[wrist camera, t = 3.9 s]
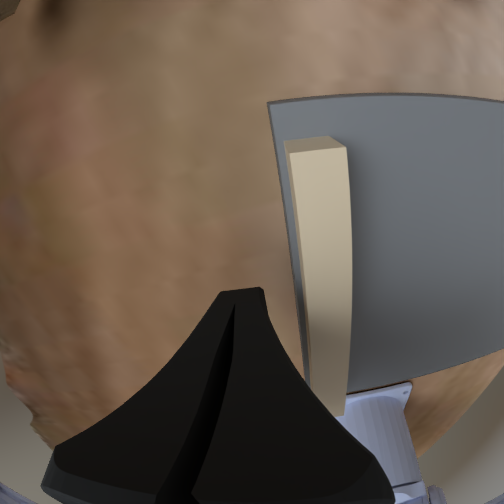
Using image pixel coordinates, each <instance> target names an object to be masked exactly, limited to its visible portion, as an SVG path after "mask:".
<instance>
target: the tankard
mask: <svg viewBox="0 0 504 504" xmlns="http://www.w3.org/2000/svg"><path fill="white" fill-rule="evenodd" d="M19 2H20V0H0V21H1V20H3V19H5V18H7V17H9V16H11V15H12V14H14V13H15V11H16V9H17V6H18V4H19Z"/></svg>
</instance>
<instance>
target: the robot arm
mask: <svg viewBox="0 0 504 504" xmlns="http://www.w3.org/2000/svg"><path fill="white" fill-rule="evenodd" d="M411 389H412V384H411V383H410V382H407V383H403V384H398V385H394V386H390V387H386V388H381V389H376V390H372V391H367V392H362V393H356V394H351V395H346V402H345V411H344V416H338V417H334V416H333V415H332V414H331V413H330V412H329V410H328V409H327V408H326V407H325V406H324V404H323V403H322V402H321V401H320V400H319V399H318V397H317V396H316V395H315V394H314V393H313V391H312V390H311V389H310V388H309V386H308V385H307V383H306V382H305V381H304V379H303V378H302V377H301V375H300V374H299V372H298V371H297V369H296V368H295V366H294V365H293V363H292V361H291V360H290V358H289V357H288V355H287V353H286V351H285V350H284V348H283V346H282V344H281V342H280V340H279V338H278V336H277V334H276V332H275V330H274V328H273V326H272V323H271V321H270V319H269V316H268V311H267V306H266V301H265V295H264V290H263V289H262V288H260V287H254V288H246V289H238V290H229V291H221V292H220V293H219V294H218V296H217V297H216V299H215V300H214V301H213V303H212V304H211V306H210V307H209V309H208V310H207V312H206V313H205V315H204V316H203V318H202V319H201V321H200V322H199V323H198V325H197V326H196V328H195V329H194V330H193V332H192V333H191V334H190V336H189V337H188V338H187V340H186V341H185V342H184V343H183V345H182V346H181V347H180V348H179V350H178V351H177V352H176V353H175V354H174V356H173V357H172V358H171V359H170V360H169V362H168V363H167V364H166V365H165V366H164V367H163V368H162V369H161V370H160V371H159V372H158V373H157V374H156V375H155V376H154V377H153V378H152V379H151V380H150V381H149V382H148V383H147V384H146V385H145V386H144V387H143V388H142V389H140V390H139V391H138V392H137V393H136V394H134V395H133V396H132V397H131V398H130V399H129V400H127V401H126V402H125V403H124V404H123V405H121V406H120V407H119V408H117V409H116V410H115V411H113V412H112V413H111V414H109V415H108V416H106V417H105V418H103V419H102V420H100V421H99V422H97V423H96V424H94V425H93V426H91V427H90V428H88V429H86V430H85V431H83V432H81V433H79V434H77V435H76V436H74V437H72V438H70V439H68V440H66V441H65V442H63V443H61V444H59V445H57V446H55V449H54V451H53V454H52V456H51V459H50V461H49V464H48V467H47V470H46V472H45V475H44V478H43V480H42V483H41V488H42V490H43V491H44V492H45V493H46V494H48V495H49V496H51V497H52V498H54V499H56V500H57V501H59V502H61V503H63V504H429V502H430V504H447V503H446V499H445V496H444V493H443V490H442V488H439V487H436V486H435V485H432V486H429V487H428V493H429V502H428V498H427V493H426V488H425V484H424V481H423V480H422V477H421V473H420V469H419V465H418V462H417V457H416V454H415V450H414V446H413V443H412V439H411V436H410V432H409V429H408V426H407V422H406V419H405V416H404V412H403V411H404V408H405V405H406V403H407V400H408V398H409V395H410V392H411ZM0 504H37V503H35V502H33V501H31V500H29V499H28V498H26V497H24V496H22V495H20V494H19V493H17V492H15V491H14V490H12V489H10V488H8V487H7V486H5V485H3V484H2V483H0ZM485 504H504V493H503V494H502V495H500V496H498V497H496V498H494V499H493V500H491V501H489V502H487V503H485Z"/></svg>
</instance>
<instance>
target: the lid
mask: <svg viewBox="0 0 504 504" xmlns="http://www.w3.org/2000/svg"><path fill="white" fill-rule="evenodd" d="M269 106H270V112H271V118H272V124H273V130H274V136H275V142H276V148H277V154H278V160H279V167H280V173H281V180H282V187H283V194H284V200H285V207H286V215H287V222H288V229H289V237H290V244H291V252H292V260H293V268H294V276H295V285H296V293H297V302H298V311H299V321H300V330H301V340H302V350H303V361H304V372H305V382H306V383H307V385H308V386H309V388H310V389H311V390H312V391H313V393H314V394H315V395H316V396H317V397H318V399H319V400H320V401H321V402H322V403H323V404H324V406H325V407H326V408H327V409H328V410H329V412H330V413H331V414H332V415H333V416H334V417H338V416H344V411H345V402H346V393H347V392H353V391H358V390H363V389H369V388H373V387H378V386H383V385H387V384H392V383H396V382H400V381H404V380H408V379H412V378H416V377H420V376H423V375H427V374H430V373H434V372H437V371H441V370H444V369H447V368H450V367H453V366H457V365H460V364H463V363H466V362H469V361H471V360H474V359H477V358H480V357H483V356H485V355H488V354H491V353H493V352H496V351H498V350H501V349H503V348H504V103H497V102H490V101H482V100H473V99H463V98H451V97H435V96H402V95H387V96H353V97H337V98H323V99H312V100H303V101H294V102H286V103H278V104H271V105H269Z"/></svg>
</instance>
